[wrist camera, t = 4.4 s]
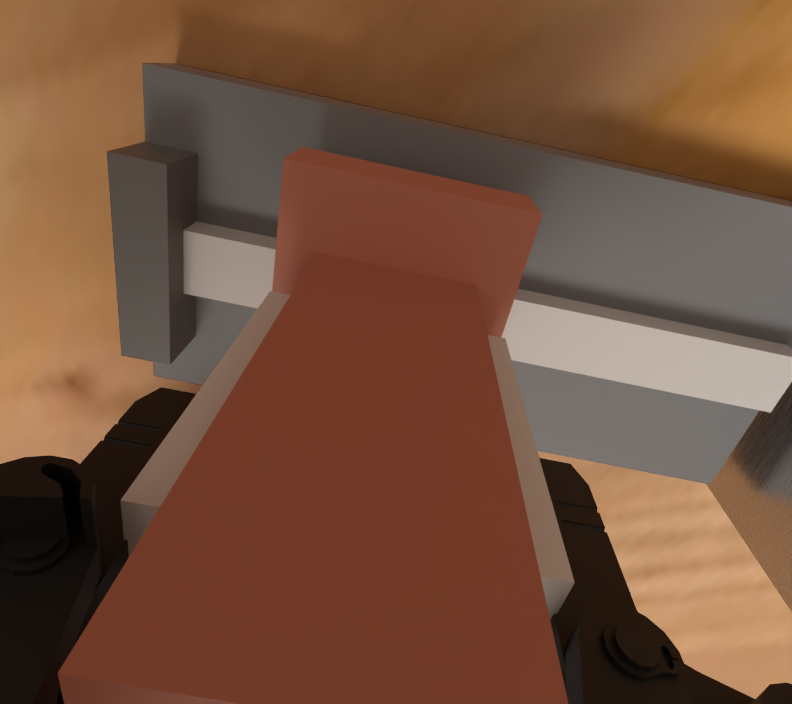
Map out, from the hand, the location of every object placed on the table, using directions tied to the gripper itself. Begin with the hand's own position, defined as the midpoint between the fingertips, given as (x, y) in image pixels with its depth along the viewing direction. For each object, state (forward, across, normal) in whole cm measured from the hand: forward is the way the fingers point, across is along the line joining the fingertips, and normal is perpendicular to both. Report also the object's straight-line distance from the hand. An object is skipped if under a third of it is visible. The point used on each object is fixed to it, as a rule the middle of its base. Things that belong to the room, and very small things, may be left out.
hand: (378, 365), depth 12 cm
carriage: (+3, 0, 0) cm, 3 cm away
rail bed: (+7, +3, 0) cm, 7 cm away
